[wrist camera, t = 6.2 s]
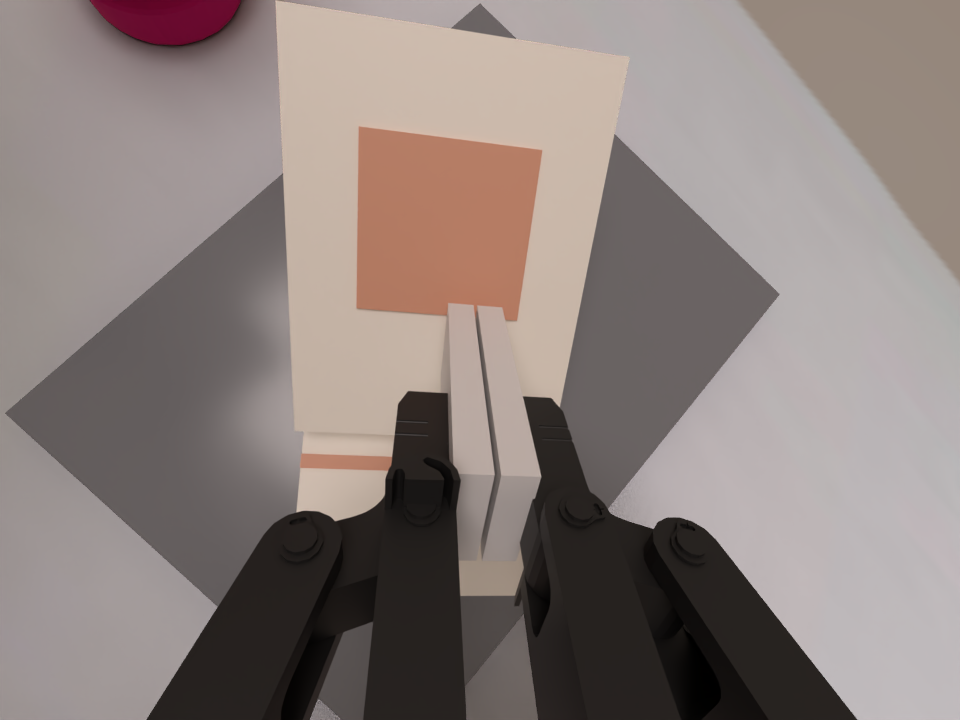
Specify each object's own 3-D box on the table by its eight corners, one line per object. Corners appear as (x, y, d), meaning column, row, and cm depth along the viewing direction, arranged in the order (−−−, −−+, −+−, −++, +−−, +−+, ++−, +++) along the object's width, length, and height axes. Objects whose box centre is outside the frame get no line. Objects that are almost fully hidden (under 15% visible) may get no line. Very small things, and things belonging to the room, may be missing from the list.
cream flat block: (553, 443, 17) (631, 56, 12) (293, 432, 16) (274, -2, 11) (544, 422, 18) (610, 67, 14) (304, 410, 17) (291, 17, 13)
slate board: (27, 413, 18) (4, 413, 17) (476, 21, 22) (480, 3, 21) (398, 750, 18) (397, 770, 17) (763, 299, 23) (779, 294, 22)
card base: (531, 588, 18) (538, 596, 18) (293, 588, 17) (287, 597, 16) (537, 409, 19) (543, 409, 18) (311, 398, 18) (306, 397, 17)
